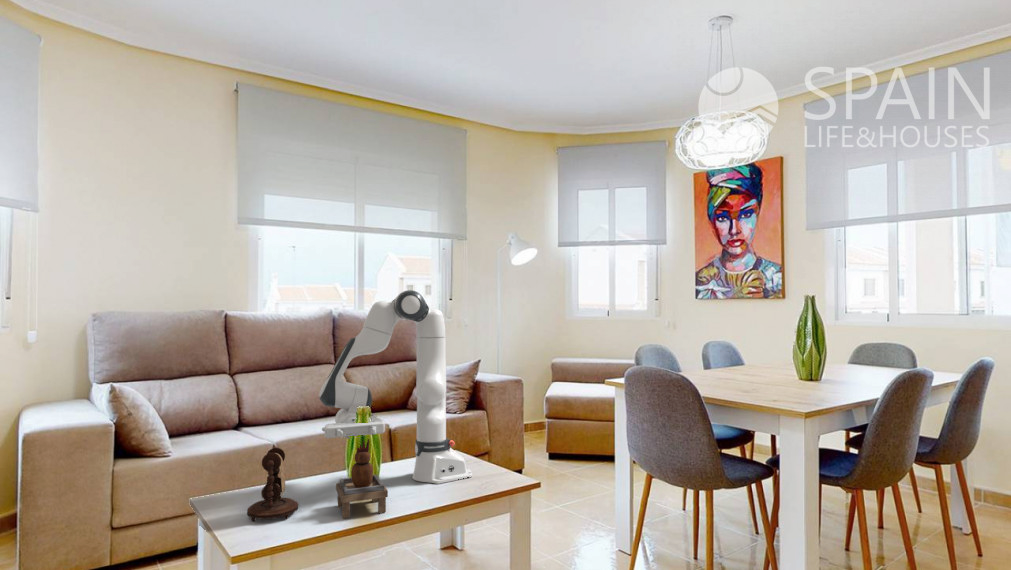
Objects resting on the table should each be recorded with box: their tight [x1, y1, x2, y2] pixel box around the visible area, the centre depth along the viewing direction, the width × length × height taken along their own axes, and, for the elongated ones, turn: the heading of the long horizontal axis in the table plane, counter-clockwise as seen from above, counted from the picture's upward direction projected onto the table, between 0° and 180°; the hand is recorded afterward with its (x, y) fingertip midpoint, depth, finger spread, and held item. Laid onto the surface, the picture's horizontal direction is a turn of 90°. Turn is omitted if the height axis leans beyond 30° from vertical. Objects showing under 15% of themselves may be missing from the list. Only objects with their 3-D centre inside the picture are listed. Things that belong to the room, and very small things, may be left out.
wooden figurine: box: [350, 438, 374, 488], centre depth 184 cm, size 7×6×15 cm
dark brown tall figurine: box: [246, 447, 299, 523], centre depth 179 cm, size 15×15×20 cm
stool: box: [335, 474, 389, 520], centre depth 184 cm, size 14×14×8 cm
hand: (358, 433), depth 191 cm, fingers open, 8 cm apart
